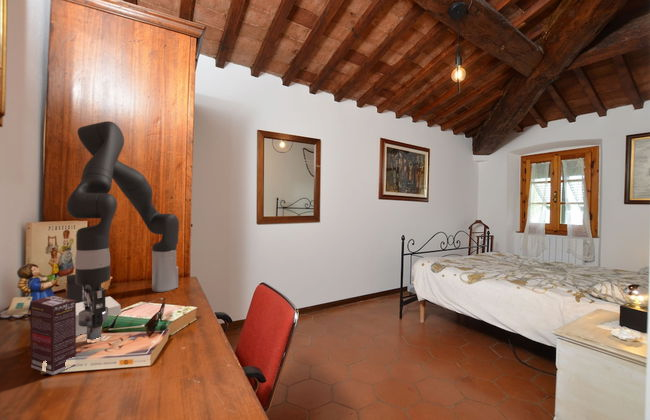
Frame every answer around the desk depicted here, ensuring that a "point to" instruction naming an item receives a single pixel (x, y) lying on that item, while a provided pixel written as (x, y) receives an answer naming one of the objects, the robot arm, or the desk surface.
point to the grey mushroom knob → (86, 321)
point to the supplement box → (52, 333)
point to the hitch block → (112, 306)
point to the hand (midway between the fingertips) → (93, 322)
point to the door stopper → (74, 289)
